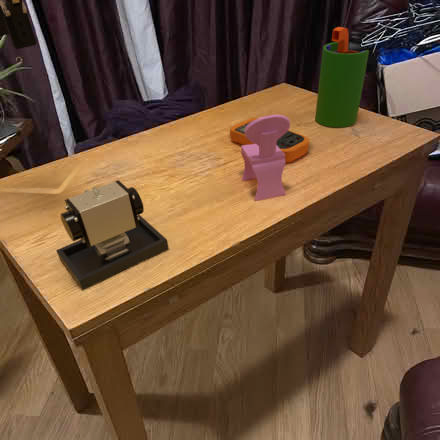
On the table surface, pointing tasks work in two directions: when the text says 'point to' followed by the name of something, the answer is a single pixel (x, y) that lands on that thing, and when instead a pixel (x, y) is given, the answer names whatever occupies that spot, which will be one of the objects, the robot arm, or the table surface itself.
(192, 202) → the table surface
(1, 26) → the robot arm
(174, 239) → the table surface
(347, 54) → the green cylindrical container
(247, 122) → the multimeter
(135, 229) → the black tray
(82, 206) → the pneumatic valve
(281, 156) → the toy chair
